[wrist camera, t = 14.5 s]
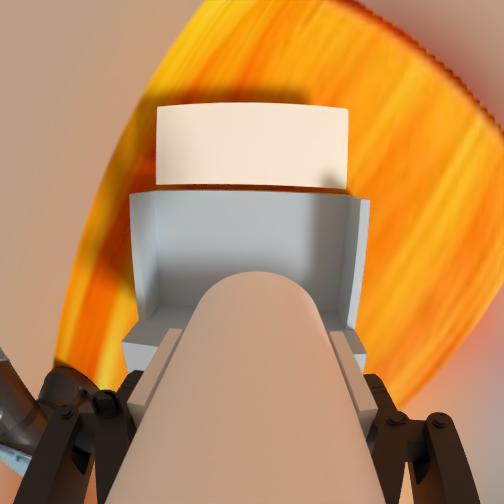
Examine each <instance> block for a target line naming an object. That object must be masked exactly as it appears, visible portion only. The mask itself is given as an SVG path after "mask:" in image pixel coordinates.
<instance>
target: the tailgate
mask: <svg viewBox="0 0 504 504" xmlns="http://www.w3.org/2000/svg"><path fill="white" fill-rule="evenodd" d="M347 156H348V109H343V108H334V107H324V106H313V105H300V104H282V103H203V104H186V105H173V106H162V107H157V130H156V185H163V184H255V185H284V186H305V187H323V188H337V189H346V179H347Z"/></svg>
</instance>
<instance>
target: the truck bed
mask: <svg viewBox="0 0 504 504" xmlns="http://www.w3.org/2000/svg"><path fill="white" fill-rule="evenodd" d="M129 199H130V228H131V245H132V259H133V271H134V282H135V291H136V300H137V308H138V316H139V321H138V322H137V323H136V325H135V326H134V327H133V328H132V329H131V331H130V332H129V333H128V334H127V335H126V337H125V338H124V339H123V340H122V341H121V343H122V348H123V353H124V357H125V362H126V367H127V371H128V373H131V372H132V371H134V370H142V371H145V369H146V368H147V366H148V364H149V363H150V361H151V359H152V357H153V356H154V354H155V352H156V351H157V349H158V347H159V345H160V344H161V342H162V340H163V339H164V337H165V335H166V334H167V332H168V330H169V329H170V328H172V329H182V331H183V333H184V331H185V329H186V327H187V325H188V323H189V321H190V319H191V317H192V315H193V313H194V311H195V309H196V307H197V305H198V303H199V302H200V300H201V298H202V297H203V296H204V294H205V293H206V292H207V291H208V290H209V289H210V288H211V287H212V286H213V285H215V284H216V283H218V282H219V281H221V280H223V279H225V278H227V277H229V276H232V275H235V274H238V273H242V272H249V271H263V272H270V273H275V274H278V275H281V276H284V277H286V278H288V279H290V280H292V281H294V282H295V283H297V284H298V285H299V286H301V287H302V288H303V289H304V290H305V291H306V292H307V293H308V294H309V296H310V297H311V298H312V300H313V301H314V303H315V305H316V307H317V309H318V312H319V314H320V317H321V319H322V322H323V324H324V327H325V330H326V332H327V335H328V337H329V332H333V331H342V332H343V334H344V336H345V338H346V340H347V342H348V344H349V346H350V348H351V350H352V352H353V355H354V357H355V359H356V361H357V363H358V365H359V367H360V370H361V372H362V373H363V369H364V365H365V361H366V357H367V352H366V350H365V349H364V347H363V345H362V343H361V341H360V339H359V337H358V335H357V334H356V332H355V330H354V329H355V324H356V318H357V312H358V306H359V300H360V293H361V286H362V279H363V271H364V263H365V255H366V246H367V236H368V224H369V212H370V200H368V199H364V198H360V197H355V196H351V195H346V194H332V193H316V192H297V191H272V190H232V189H174V190H154V191H147V192H140V193H133V194H129Z"/></svg>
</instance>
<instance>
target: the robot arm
mask: <svg viewBox="0 0 504 504" xmlns="http://www.w3.org/2000/svg"><path fill="white" fill-rule="evenodd" d="M182 335H183V331H182V329H172V328H170V329H169V330H168V332H167V334H166V335H165V337H164V339H163V340H162V342H161V344H160V345H159V347H158V349H157V351H156V352H155V354H154V356H153V357H152V359H151V361H150V363H149V364H148V366H147V368H146V369H145V371H142V370H134V371H132V372H131V373H129V374H128V375H127V377H126V378H125V380H124V382H123V383H122V384H121V387H120V388H119V389H118V391H117V392H115V391H112V390H99V389H98V388H97V387H96V386H95V385H94V384H93V383H92V382H91V381H90V380H89V379H88V378H86V377H85V376H84V375H82V374H80V373H79V372H77V371H75V370H73V369H70V368H67V367H56V368H54V369H52V370H51V371H50V372H49V373H48V375H47V376H46V377H45V380H44V384H43V386H42V388H41V391H40V394H39V396H38V399H37V400H35V399H34V398H33V396H32V395H31V394H30V392H29V391H28V389H27V388H26V386H25V385H24V383H23V382H22V381H21V379H20V378H19V376H18V374H17V373H16V371H15V370H14V368H13V366H12V365H11V363H10V362H9V359H8V358H7V357H6V356H5V354H4V353H3V351H2V349H1V348H0V458H1V459H2V460H3V461H4V462H5V463H6V464H7V465H8V466H9V467H11V468H12V469H13V470H14V471H16V472H17V473H18V474H20V475H22V476H23V479H22V482H21V484H20V487H19V489H18V492H17V495H16V497H15V500H14V503H13V504H84V499H85V495H86V491H87V487H88V483H89V479H90V475H91V472H92V468H93V464H94V461H95V473H96V474H95V475H96V489H97V490H96V491H97V502H98V504H105V502H106V499H107V497H108V495H109V492H110V490H111V488H112V486H113V483H114V481H115V479H116V476H117V474H118V472H119V470H120V467H121V465H122V463H123V461H124V458H125V456H126V454H127V452H128V450H129V447H130V445H131V443H132V441H133V439H134V436H135V434H136V432H137V430H138V428H139V426H140V423H141V421H142V419H143V417H144V415H145V413H146V410H147V408H148V406H149V404H150V402H151V400H152V398H153V396H154V393H155V391H156V389H157V387H158V385H159V383H160V381H161V379H162V377H163V375H164V373H165V370H166V368H167V366H168V364H169V362H170V360H171V358H172V356H173V354H174V352H175V350H176V348H177V346H178V344H179V342H180V340H181V337H182ZM329 340H330V343H331V345H332V348H333V350H334V353H335V356H336V358H337V361H338V364H339V366H340V369H341V372H342V375H343V377H344V380H345V383H346V385H347V388H348V391H349V394H350V397H351V399H352V402H353V405H354V408H355V411H356V413H357V416H358V419H359V422H360V425H361V428H362V431H363V434H364V437H365V440H366V443H367V446H368V449H369V452H370V455H371V458H372V461H373V464H374V467H375V470H376V473H377V476H378V479H379V483H380V486H381V489H382V492H383V496H384V499H385V502H386V504H399V499H400V493H401V488H402V482H403V476H404V469H405V462H408V468H409V473H410V480H411V486H412V493H413V500H414V504H480V500H479V496H478V493H477V489H476V486H475V483H474V480H473V476H472V473H471V470H470V467H469V464H468V461H467V458H466V455H465V452H464V449H463V447H462V444H461V441H460V438H459V436H458V433H457V430H456V428H455V425H454V423H453V420H452V419H451V417H450V416H448V415H447V414H445V413H440V412H435V413H432V414H430V415H429V416H428V418H427V419H426V420H424V421H423V420H411V419H409V418H408V416H407V415H406V414H404V413H403V412H401V411H397V409H396V407H395V405H394V403H393V401H392V399H391V397H390V395H389V393H387V389H386V387H385V386H384V384H383V382H382V380H381V379H380V378H379V377H378V376H377V375H375V374H366V375H363V374H362V372H361V370H360V367H359V365H358V363H357V361H356V359H355V357H354V355H353V352H352V350H351V348H350V346H349V344H348V342H347V340H346V338H345V336H344V334H343V332H342V331H333V332H329Z"/></svg>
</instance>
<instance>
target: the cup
mask: <svg viewBox="0 0 504 504" xmlns="http://www.w3.org/2000/svg"><path fill="white" fill-rule="evenodd" d="M105 504H386V502H385V499H384V496H383V492H382V489H381V486H380V483H379V479H378V476H377V473H376V470H375V467H374V464H373V461H372V458H371V455H370V452H369V449H368V446H367V443H366V440H365V437H364V434H363V431H362V428H361V425H360V422H359V419H358V416H357V413H356V411H355V408H354V405H353V402H352V399H351V397H350V394H349V391H348V388H347V385H346V383H345V380H344V377H343V375H342V372H341V369H340V366H339V364H338V361H337V358H336V356H335V353H334V350H333V348H332V345H331V343H330V340H329V337H328V335H327V332H326V330H325V327H324V324H323V322H322V319H321V317H320V314H319V312H318V309H317V307H316V305H315V303H314V301H313V300H312V298H311V297H310V296H309V294H308V293H307V292H306V291H305V290H304V289H303V288H302V287H301V286H299V285H298V284H297V283H295V282H294V281H292V280H290V279H288V278H286V277H284V276H281V275H278V274H275V273H270V272H263V271H249V272H242V273H238V274H235V275H232V276H229V277H227V278H225V279H223V280H221V281H219V282H218V283H216V284H215V285H213V286H212V287H211V288H210V289H209V290H208V291H207V292H206V293H205V294H204V296H203V297H202V298H201V300H200V302H199V303H198V305H197V307H196V309H195V311H194V313H193V315H192V317H191V319H190V321H189V323H188V325H187V327H186V329H185V331H184V333H183V335H182V337H181V340H180V342H179V344H178V346H177V348H176V350H175V352H174V354H173V356H172V358H171V360H170V362H169V364H168V366H167V368H166V370H165V373H164V375H163V377H162V379H161V381H160V383H159V385H158V387H157V389H156V391H155V393H154V396H153V398H152V400H151V402H150V404H149V406H148V408H147V410H146V413H145V415H144V417H143V419H142V421H141V423H140V426H139V428H138V430H137V432H136V434H135V436H134V439H133V441H132V443H131V445H130V447H129V450H128V452H127V454H126V456H125V458H124V461H123V463H122V465H121V467H120V470H119V472H118V474H117V476H116V479H115V481H114V483H113V486H112V488H111V490H110V492H109V495H108V497H107V499H106V502H105Z"/></svg>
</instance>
